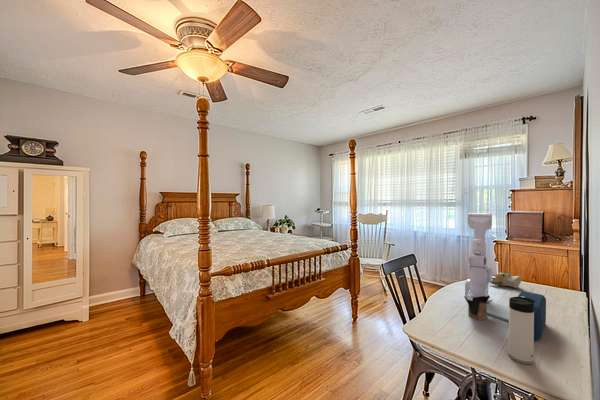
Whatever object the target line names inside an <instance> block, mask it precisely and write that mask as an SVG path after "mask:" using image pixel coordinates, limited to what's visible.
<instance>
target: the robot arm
mask: <svg viewBox="0 0 600 400" xmlns="http://www.w3.org/2000/svg"><path fill="white" fill-rule="evenodd" d="M467 225H468V227H469V229H471V230H473V238H474V239H473V240H471V242H470V253H469V255H468V265H467V267H468V268H467V279H466V280H465V283H464V299H465V301H466V302H467V304H468V305H469V308H470V311H471V314H474V315H477V313H478V307H479V304H480V303H481V302H484V303H487V304H488V303H490V302H491V301H492V300H493V298H491V297H490V295H489V284H492V283H491V282H492V278H493V277H492V276H493V275H492V267H491V266H490V265H489V264H488V257H487V243H486V233H487V231H489V230H491V229H492V226H493V214H492V213H491V212H489V213H487V212H468V213H467Z"/></svg>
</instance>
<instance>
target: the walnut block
mask: <svg viewBox="0 0 600 400" xmlns="http://www.w3.org/2000/svg"><path fill="white" fill-rule="evenodd" d="M487 304H488V302H487V303H484V302H481V303H480V304H479V307H478V313H477V315H474V314H471V311H470V308H469V305H468V317H471V318H475V319H476V320H479V321H481V320H482V321H483V319H485V318H487V316H488V315H487Z"/></svg>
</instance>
